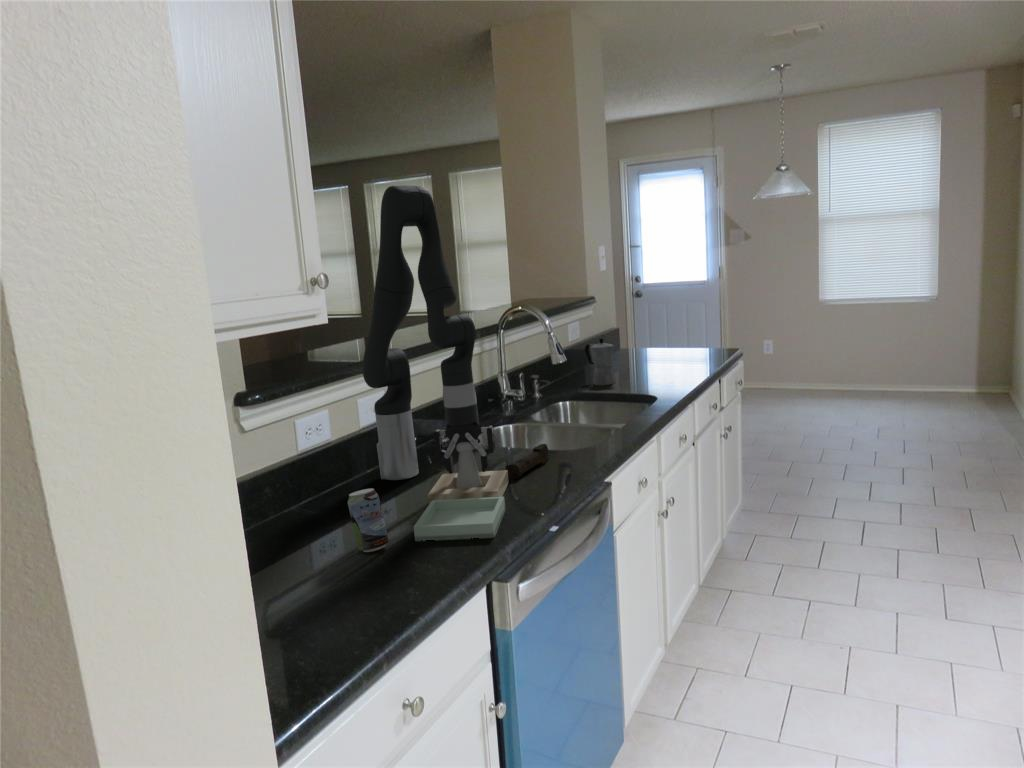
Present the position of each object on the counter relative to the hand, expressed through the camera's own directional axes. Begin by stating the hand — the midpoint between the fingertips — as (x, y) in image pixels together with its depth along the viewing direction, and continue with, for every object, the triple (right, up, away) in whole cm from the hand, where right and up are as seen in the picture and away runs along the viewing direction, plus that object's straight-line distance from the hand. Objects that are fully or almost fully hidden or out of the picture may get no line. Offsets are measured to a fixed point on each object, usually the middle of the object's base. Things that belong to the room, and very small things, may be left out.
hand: (468, 471), depth 177 cm
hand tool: (+15, -2, +18) cm, 23 cm away
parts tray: (0, -9, -19) cm, 21 cm away
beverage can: (-17, -12, -27) cm, 34 cm away
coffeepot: (+46, +20, +126) cm, 135 cm away
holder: (0, -5, +1) cm, 5 cm away
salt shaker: (0, -6, +1) cm, 6 cm away
